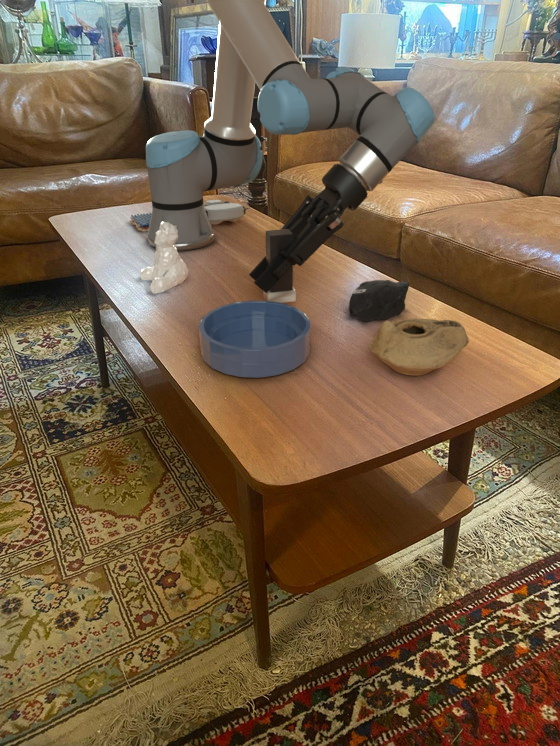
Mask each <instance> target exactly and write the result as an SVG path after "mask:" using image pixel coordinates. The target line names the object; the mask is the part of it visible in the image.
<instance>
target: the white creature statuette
mask: <svg viewBox="0 0 560 746" xmlns="http://www.w3.org/2000/svg"><path fill="white" fill-rule="evenodd" d="M159 228H160V229H159V231H157V232H156V236H155V237H156V238H155V241H154V243H155V244H157V245H156V246H157V247H156V248H155V251H154V255H153V257H154V265H153V266H147V267H145V268H143V269H141V270H140V277H141V279H140V280H141V281H150V282H151V283H150V285H149V287H150V291H151V293H152V294H154V295H155V294H161V293H164V292H165V291H168V290H171V289H173V288H175V287H177V286H179V285H181V284H183V283H184V281H185V280H186V279H187V278H188V274H189V268H188V266H187V265H186V263H185V261H184V260H183V258H181V256H180V254H179V251H177V249H176V247H175V246H174V244H175V242H176V241H177V240H178V230H177V229H176V227H175V226H173V225H172V224H170V223H169V222H167V223H166V222H164V221H162V222H161V223H160V227H159Z"/></svg>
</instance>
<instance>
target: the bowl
mask: <svg viewBox="0 0 560 746" xmlns="http://www.w3.org/2000/svg"><path fill="white" fill-rule="evenodd" d="M198 335H199V346H200V348H199V349H200V354H201V358H202V360H203V362H205V363H206V365H208V366H209V367H210V368H211V369H213V370H216V371H218V372H221V373H222V374H225V375H229V376H234V377H240V378H256V379H257V378H266V377H273V376H279V375H283V374H285V373H288V372H290V371H293V370H295V369H296V368H298V367H299V366H301V365H302V364H303V363H305V362H306V361H307V359H308V357H309V355H310V351H311V350H310V348H311V320H310V318H309V317H308V315H307V314H306V313H305V312H304V311H302V310H301V309H299V308H297V307H295V306H293V305H289V304H286V303H278V302H271V301H266V300H242V301H235V302H234V301H233V302H231V303H226V304H223V305H220V306H217V307H216V308H214V309H212V310H209V311H208V312H207V313H205V315H204V316H202V317H201V318H200V321H199V324H198Z"/></svg>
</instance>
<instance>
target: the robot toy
mask: <svg viewBox="0 0 560 746" xmlns="http://www.w3.org/2000/svg"><path fill="white" fill-rule="evenodd" d="M203 204H204V209H205V211H206V214H207V216H208V219H209V221H210V224H211V225H219V224H221V223H222V222H226V221H228V222H230V223H236V222H238V221H239V219H242V218H243V217H244V216H245V214H246V212H247V210H250V209H251V206H249V207H245V206H244V205H243V204H241V203H237V202H230V201H229V200H225V201H222V200H221V199H209V200H206V201H204V202H203Z"/></svg>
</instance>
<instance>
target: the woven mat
mask: <svg viewBox="0 0 560 746" xmlns="http://www.w3.org/2000/svg"><path fill="white" fill-rule="evenodd" d="M151 215H152V212H149V213H148V212H147V213H141V214H139V213H137V214H134V215H133V214H131V215H130V217H129V219H130V220H129V223H130V224H131V225H132V226H135V227H136V229H137V231H140V232H143V233H144V232H145V233H146V232H148V230H149V225H150V220H151Z"/></svg>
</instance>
